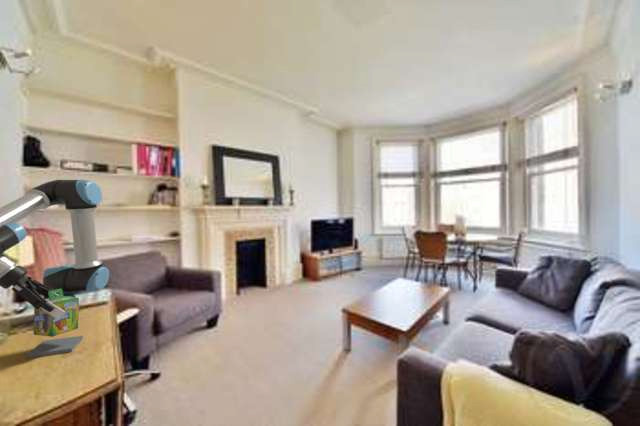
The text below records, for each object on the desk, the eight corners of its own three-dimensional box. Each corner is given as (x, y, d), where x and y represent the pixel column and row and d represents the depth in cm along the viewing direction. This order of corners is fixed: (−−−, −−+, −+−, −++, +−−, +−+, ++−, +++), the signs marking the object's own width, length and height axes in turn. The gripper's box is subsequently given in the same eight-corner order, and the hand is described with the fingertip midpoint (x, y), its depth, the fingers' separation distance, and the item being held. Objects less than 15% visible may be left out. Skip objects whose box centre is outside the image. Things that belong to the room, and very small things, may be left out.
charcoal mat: (42, 344, 111) (42, 340, 111) (82, 338, 116) (82, 335, 116) (26, 358, 100) (26, 354, 100) (71, 351, 105) (71, 348, 105)
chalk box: (51, 337, 102) (52, 294, 102) (32, 335, 104) (32, 292, 104) (79, 328, 111) (80, 287, 111) (61, 325, 113) (61, 286, 113)
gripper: (6, 275, 109) (60, 310, 117) (-20, 289, 89) (48, 330, 97) (26, 260, 112) (78, 294, 120) (5, 269, 92) (69, 310, 100)
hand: (64, 310), depth 109 cm, fingers closed on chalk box, 12 cm apart
